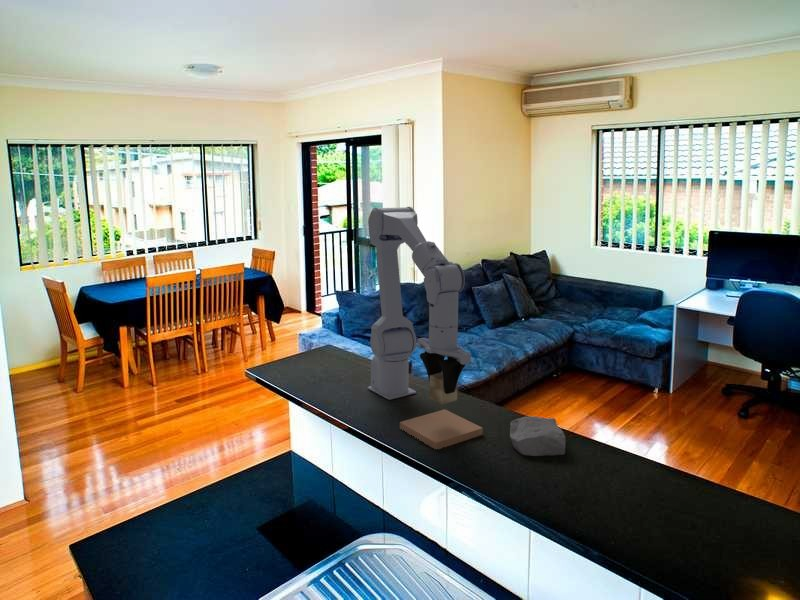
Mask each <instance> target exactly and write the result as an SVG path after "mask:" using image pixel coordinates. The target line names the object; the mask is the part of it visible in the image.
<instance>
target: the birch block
mask: <svg viewBox="0 0 800 600" xmlns="http://www.w3.org/2000/svg"><path fill="white" fill-rule="evenodd" d="M458 381H459V380H458ZM458 381H457V385H456V388H455V392H453V393H449V394H446V393H445V391H444V379H443V373H438V374H434V375H430V382H429V399H430V400H432V401H434V402H436V403H439V404H441V405H445V404H449V403H452V402H456V401H458Z"/></svg>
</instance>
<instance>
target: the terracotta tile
mask: <svg viewBox="0 0 800 600" xmlns="http://www.w3.org/2000/svg"><path fill="white" fill-rule="evenodd" d="M401 429H402V430H401ZM399 430H401V431H403V430H404V431H405V432H404V431H403V432H404V433H406V432H407V433H406V434H408V435H409V436H411V435H412V436H411V437H413V436H414V437H413V438H415V439H416V438H417V440H418V439H419V440H418V441H420V442H421V441H422V442H421V443H423V442H424V443H423V444H425V445H427V446H428V445H429V448H432V449H433V448H434V449H433V450H435V449H438V450H441V449H444V448H447V447H449V446H452V445H457V444H459V443H462V442H464V441H468V440H472V439H473V438H474V439H475V438H477V437H480V436H483V433H484V431H483V430H484V428H483V427H482V426H480V425H478V424H475V423H474V422H472V421H469V419H468V420H467V419H466V418H464V417H461V416H459V415H457V414H455V413H453V412H451V411H449V410H447V409H445V408H444V409H440V410H438V411H435V412H431V413H427V414H424V415H421V416H420V415H419V416H416V417H413V418H409V419H406V420H402V421H400V422H399ZM443 447H444V448H443Z"/></svg>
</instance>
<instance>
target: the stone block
mask: <svg viewBox="0 0 800 600" xmlns="http://www.w3.org/2000/svg"><path fill="white" fill-rule="evenodd" d="M509 426H510V429H509V437H510V440H511V443H512V447H513V448H514V449H515V450H516V451H517V452H518V453H519V454H521V455H522V456H532V457H541V456H542V457H543V456H564V455H565V454H566V442H567V441H566V436H565V433H564V431H563V430H562V428H560V427H559V426H558V424H557V420H556V418H555V417H552V418H549V417H547V418H546V417H541V416H532V415H531V416H523V417H519V418H516V419H513V420H512V421H510V424H509Z"/></svg>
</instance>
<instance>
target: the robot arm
mask: <svg viewBox="0 0 800 600" xmlns="http://www.w3.org/2000/svg"><path fill="white" fill-rule="evenodd" d="M418 222H419V221H418V213H416V210H415V209H414V207H412V206H406V207H373V208H372V209H371V211H370V213H369V217H368V219H367V225H368V234H369V240H370V241H369V242H370V243H369V244H370V245H372V246H374V247H375V251H376V252H375V253H376V254H375V255H376V263H377V275H378V287H379V289H378V290H379V298H380V300H379V301H380V309H381V310H380V312H381V316H380V317H379V318H378V319H377V321H375V322H374V323H373V324H372V325H371V328H370V329H371V331H370V334H371V335H370V340H369V342H370V344H369V345H370V349H371V352H372V354H373V355H374V356H373V357H372V359H371V362H370V385H369V386H367V389H368V390H369V391H372V392H373V393H375V394H378V395H379V396H381V397H383V398H384V399H387V400H389V401H390V400H394V399H398V398H402V397H407V396H410V395H414V394H416V393H417V391H416V390H414V389H412V388H410V387H409V358H411V357H412V354H413V353H414V352H415V351H416V348H418V349H424V352H422V353H420V354H419V357H420V360H421V362H422V363H423V365H424V368H425V371H426V373H427V377H428V382H429V383H430V375H434V374H438V373H443V379H444V391H445V393H446V394H449V393H453V392H455V388H456V385H457V386H458V384H457V381H459V377H460V375H461V373H462V371H463V370H464V368H465V366H466V365H468V364H471V362H472V353H471V352H468V351H466V350H465V349H464V348H463V347H462V346H461V347H460V346H459V345H458V332H459V331H458V330H459V328H458V327H459V325H458V324H459V293H460V292H462V291H463V289H464V288H465V284H466V283H465V281H466V279H465V273H464V270H463V268H462V267H461V265H460V264H459V263H458V262H457V263H456V262H455V263H454V262H453V261H449V260H448V258H447V257H446V256H445V254H444V253H442V251H441V250H440V248H439V247H438V246H437V245H436V243H435V242H433V241H428V240H427V239H426V238H425V236H424V234H423V233H422V231H421V230H420V227H419V226H418ZM404 243H405V244H406V245H407V246H408V247H409V249H410V250H411V251H412V254H411V259H412V261H413V263H414V264H415V265H416V267H417V268H418V270H419V272H420V273H421V274H422V276H423V277H424V278H423V285H424V288H425V291H426V292H425V293H426V299H427V300H426V301H427V303H429V304H428V305H429V309H428V315H429V317H428V321H429V322H428V337H420V338H417V336H416V333H415V329H414V324H413V322H412V321H411V320H409V319H408V318H407V317H405V316H404V313H403V302H402V292H401V290H402V289H401V277H400V266H399V256H398V255H399V254H398V250H399V248H400V246H401V245H402V244H404ZM446 358H447V359H446Z"/></svg>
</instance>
